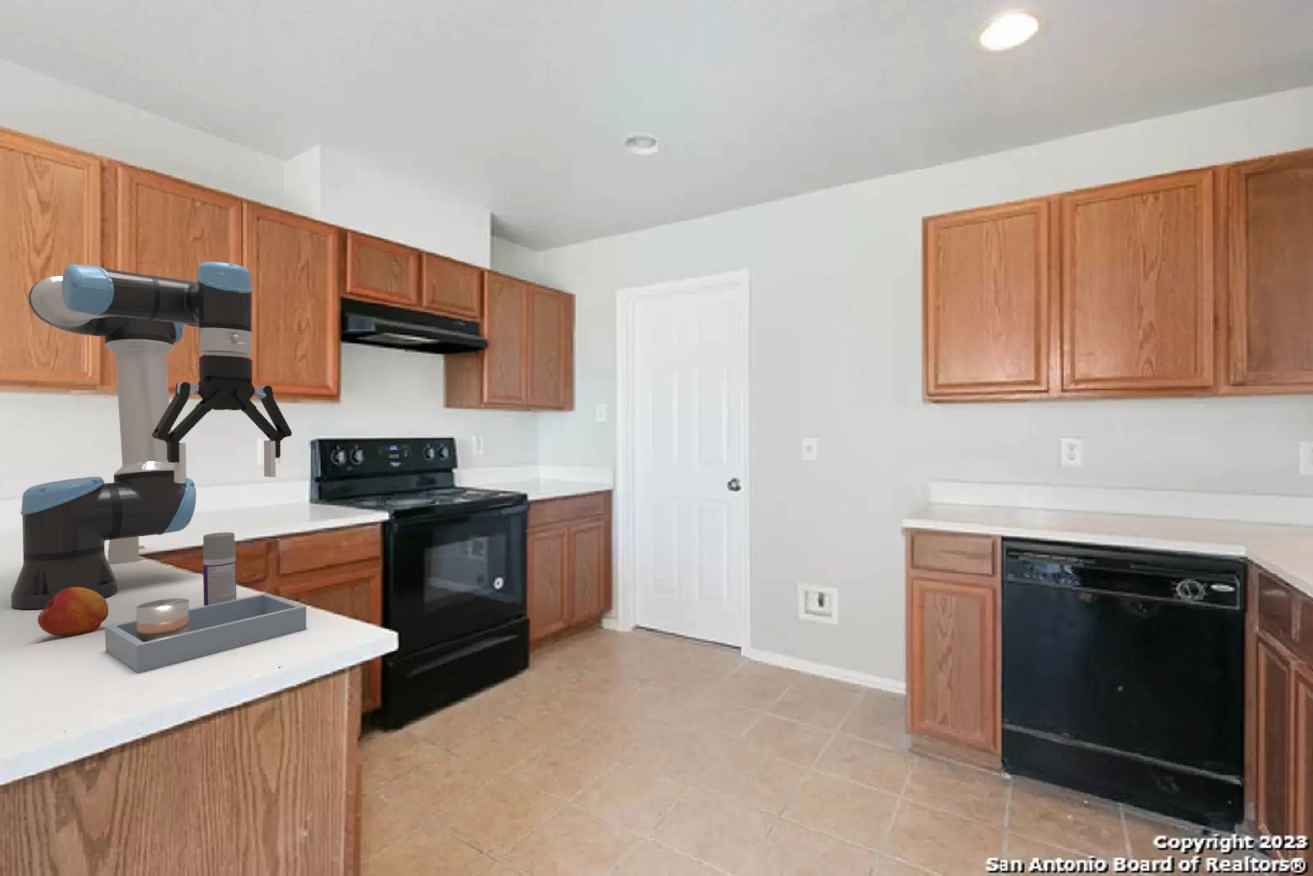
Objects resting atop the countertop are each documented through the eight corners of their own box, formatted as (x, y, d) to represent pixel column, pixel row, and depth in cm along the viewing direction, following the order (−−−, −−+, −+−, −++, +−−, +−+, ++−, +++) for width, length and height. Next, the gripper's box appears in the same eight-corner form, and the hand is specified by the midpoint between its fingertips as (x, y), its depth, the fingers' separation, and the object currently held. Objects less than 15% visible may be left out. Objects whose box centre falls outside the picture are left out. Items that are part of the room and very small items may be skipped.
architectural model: (107, 564, 155) (107, 534, 155) (143, 560, 160) (143, 531, 160) (108, 566, 153) (108, 536, 153) (145, 562, 158) (144, 532, 157)
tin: (131, 653, 92) (130, 605, 92) (181, 641, 97) (180, 596, 97) (145, 662, 88) (144, 612, 88) (196, 649, 93) (195, 602, 93)
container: (208, 617, 111) (206, 533, 111) (239, 614, 113) (237, 531, 113) (200, 625, 107) (199, 537, 107) (233, 621, 109) (231, 535, 108)
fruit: (49, 633, 103) (48, 584, 103) (113, 625, 107) (112, 578, 107) (32, 647, 97) (31, 596, 96) (101, 638, 101) (100, 589, 100)
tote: (105, 656, 93) (105, 626, 93) (267, 618, 111) (266, 593, 111) (137, 679, 85) (137, 645, 84) (306, 633, 103) (306, 606, 102)
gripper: (143, 347, 95) (145, 487, 96) (311, 360, 116) (312, 475, 116) (126, 350, 99) (128, 483, 100) (291, 362, 120) (292, 473, 121)
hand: (227, 479), depth 108 cm, fingers open, 13 cm apart
